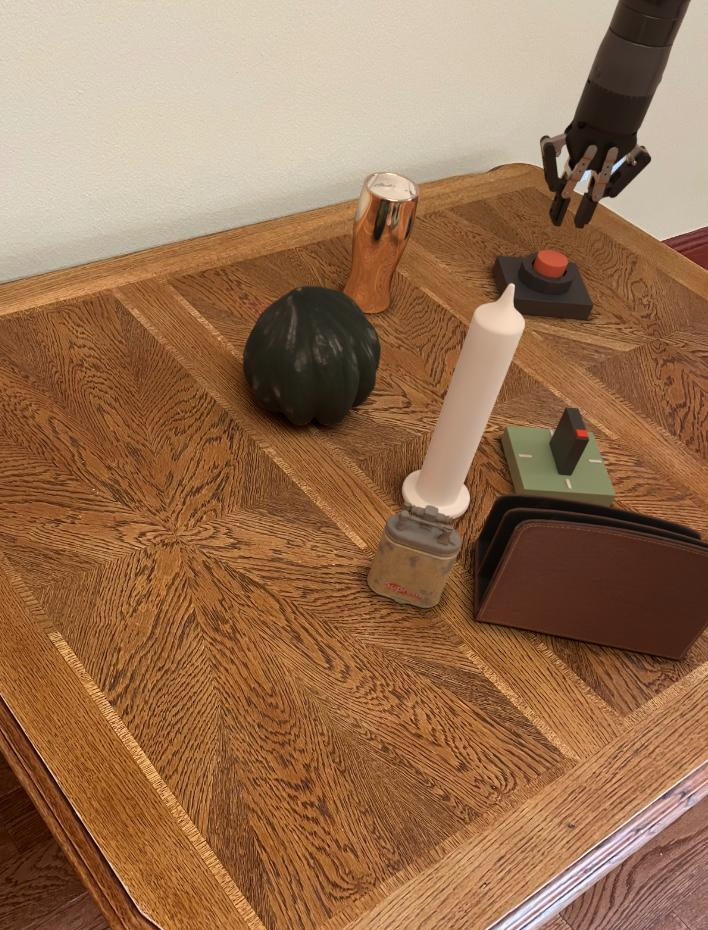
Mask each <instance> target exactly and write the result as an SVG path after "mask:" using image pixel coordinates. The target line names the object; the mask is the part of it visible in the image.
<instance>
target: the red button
mask: <svg viewBox="0 0 708 930" xmlns="http://www.w3.org/2000/svg"><path fill="white" fill-rule="evenodd" d="M537 253H538V255H537V257H536V260H535V263H534V265H533V268H534V269H535V270H536V271H537V272H538V273H540V274H542V275H545V276H547V277H554V278H558V277H561V276H563V274H564V271H565V269H566V267H567V264H568V262H569V260H568V258H567V256H566V255H564V254H563V253H561V252H559V251H557V250H553V249H542V250H540V251H538V252H537Z"/></svg>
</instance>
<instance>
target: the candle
mask: <svg viewBox="0 0 708 930" xmlns="http://www.w3.org/2000/svg"><path fill="white" fill-rule="evenodd" d="M514 289H515V285H514V284H512V283H511V284H509V285H508V287H507V288H506V290H505V291H504V293H503V294H502V296H501V295H500V297H499V298H498V299H497V300H496V301H494V302H487V303H483V304H481V305H479V306H478V307H477V308H476V309H475V310H474V312H473V315H472V318H471V320H470V324H469V327H468V330H467V332H466V336H465V338H464V341H463V345H462V347H461V350H460V353H459V356H458V358H457V362H456V365H455V367H454V371H453V374H452V377H451V380H450V383H449V386H448V389H447V392H446V394H445V397H444V401H443V404H442V406H441V409H440V412H439V415H438V418H437V421H436V424H435V427H434V430H433V433H432V436H431V439H430V442H429V445H428V448H427V451H426V454H425V457H424V460H423V463H422V466H421V468H420V469H416V470H414V471H412V472H411V473H408V475H407V476H406V477H405V478H404V480H403V483H402V486H401V495H402V498H403V500H404V502H409V503H411V505H412V506H413V505H415V506H416V507H422V508H425V507H426V506H427V505H431V506H434V507H436V508H438V513H442V514H445V515H446V516H447V515H448V516H450V518H451V517H453V519H452V520H455V519H458V518H459V517H461V516H463V515H464V514H465V513H466V511H467V510H468V508H469V505H470V501H471V496H470V495H471V494H470V492H469V489H468V487H467V486H466V484H464V483H465V481H466V478H467V476H468V474H469V471H470V469H471V465H472V463H473V460H474V458H475V455H476V452H477V450H478V448H479V446H480V442H481V440H482V437H483V436H484V433H485V430H486V427H487V425H488V422H489V419H490V417H491V414H492V412H493V409H494V407H495V404H496V401H497V400H498V397H499V394H500V392H501V389H502V388H503V387H502V386H503V384H504V381H505V379H506V376H507V374H508V371H509V369H510V367H511V363H512V362H513V361H512V360H513V358H514V356H515V353H516V351H517V348H518V346H519V343H520V340H521V338H522V335H523V332H524V330H525V327H526V322H525V319H524V316H523V314H520V313H519V312H518V311H517V310H516V309H515V308H514V304H513V298H514Z"/></svg>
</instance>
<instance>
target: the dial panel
mask: <svg viewBox="0 0 708 930" xmlns="http://www.w3.org/2000/svg"><path fill="white" fill-rule="evenodd" d="M555 430H556V428H555V429H554V428H546V427H545V428H543V427H530V426H518V425H516V426H515V425H505V428H504V430H503V433H502V435H501V438H500V442H501V446H502V449H503V453H504V456H505V460H506V463H507V467H508V471H509V474H510V478H511V482H512V485H513V489H514V492H515V493H514V494H529V495H542V496H549V497H557V498H564V499H571V500H577V501H583V502H588V503H594V504H599V505H604V506H609V507H611V505H612V503H613V502H614V500H615V498H616V496H617V493H616V492H615V491H616V490H615V489H614V485H613V483H612V481H611V478H610V475H609V471H608V470H607V467H606V464H605V462H604V459H603V456H602V454H601V453H602V452H601V451H600V448H599V445H598V442H597V440H596V437H595V435H594V434H595V433H594V432H593V431H587V433H588V436H589V442H588V444H587V446H586V448H585V450H584V452H583V454H582V456H581V458H580V460H579V461H578V463H577V465H576V467H575V469H574V471H573V473H572V475H559V473H558V470H557V467H556V463H555V460H554V457H553V454H552V450H551V447H550V444H549V442H550V440H551V438H552V436H553V434H554V432H555Z"/></svg>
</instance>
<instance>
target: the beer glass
mask: <svg viewBox="0 0 708 930" xmlns="http://www.w3.org/2000/svg"><path fill="white" fill-rule="evenodd" d="M420 193H421V189H420V187H419V185H418V184H417V183H416V182H415V181H414V180H412V179H411V178H409V177H407V176H406V175H402V174H399V173H397V172H396V173H395V172H389V171H379V172H373V173H370V174H368V175H366V176H365V178H364V179H363V183H362V188H361V191H360V195H359V198H358V201H357V205H356V209H355V213H354V218H353V224H352V234H351V235H352V237H351V239H352V240H351V265H350V271H349V275H348V278H347V280H346V283H345V286H344V288H343V290H342V292H343V293H344V294H346V295H348V296H349V297H351V298H352V299H353V300H354V301H355V302H356V303H357V305H358V306H359V307H360V308H361V310H362V311H363V313H364V314H378V313H381V312H385V310H387V309H388V307H389V305H390V302H391V301H390V300H391V287H392V282H393V278H394V275H395V272H396V270H397V267H398V265H399V263H400V261H401V260H402V256H403V254H404V252H405V251H406V248H407V245H408V243H409V239H410V237H411V234H412V231H413V228H414V222H415V218H416V214H417V208H418V201H419V196H420Z"/></svg>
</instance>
